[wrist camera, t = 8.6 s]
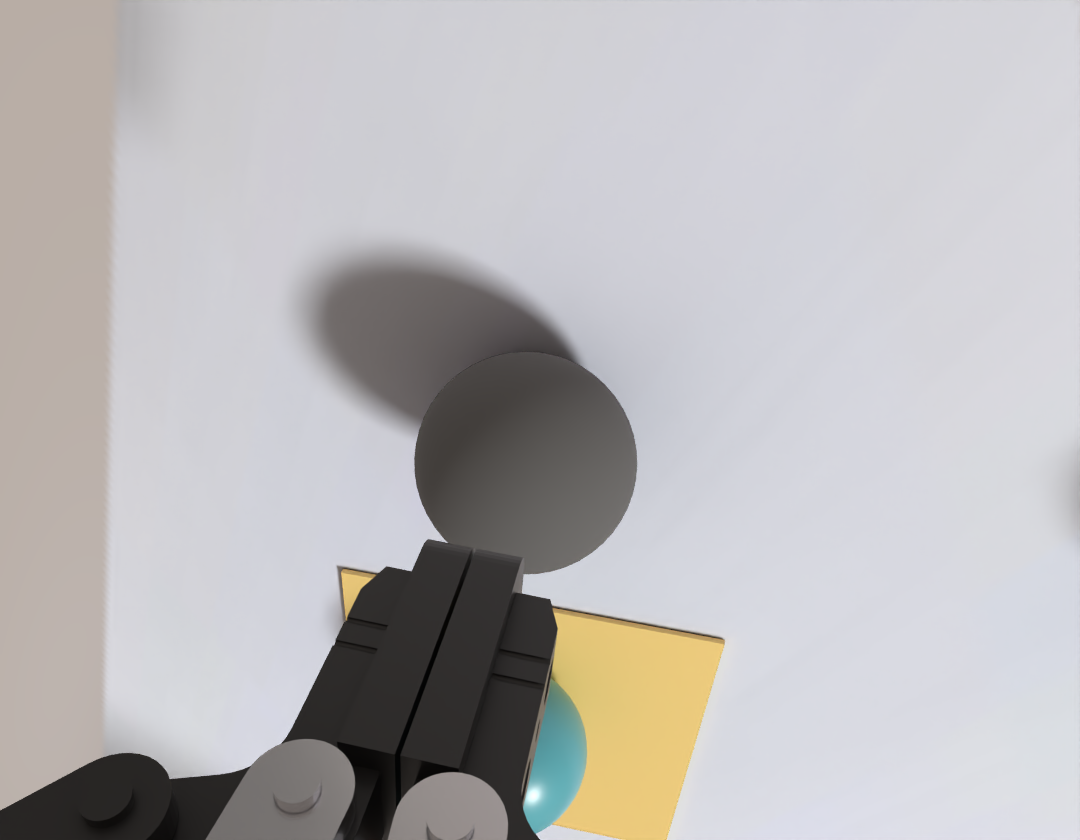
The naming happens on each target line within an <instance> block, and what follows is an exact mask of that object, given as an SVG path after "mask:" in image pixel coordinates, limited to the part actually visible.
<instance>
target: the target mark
mask: <svg viewBox="0 0 1080 840" xmlns="http://www.w3.org/2000/svg"><path fill="white" fill-rule="evenodd" d="M341 576H342V586H343V596H344V606H345V616H346V620H347V616H348V614H349V612H350V610H351V608H352V606H353V604H354V602H355V600H356V598H357V596H358V594H359V592H360V590H361V588H362V587H363V586H364V585H366V584H367V583H368V582H369V581H370V580H371V579H373V578H374V577H375V576H376V575H374V574H369V573H364V572H358V571H353V570H348V569H343V570H342V572H341ZM553 612H554V616H555V620H556V624H557V627H558V632H557V639H556V646H555V653H554V660H553V667H552V675H551V679H552V680H554V681H555V682H556V683H557V684H559V685H560V686H561V687H562V688H563V689H564V690H565V692H566V693H567V694H568V695H569V696H570V698H571V700H572V701H573V703H574V704H575V706H576V708H577V710H578V712H579V714H580V716H581V719H582V722H583V725H584V728H585V733H586V740H587V764H586V769H585V773H584V777H583V780H582V783H581V786H580V789H579V791H578V793H577V795H576V797H575V799H574V800H573V801H572V803H571V804H570V806H569V807H568V809H567V810H566V811H565V812H564V813H563V814H562V815H561V816H560V818H559V819H557V820H556V821H555V822H554V823H553V824H552V825H557V826H561V827H566V828H571V829H575V830H580V831H585V832H589V833H594V834H599V835H603V836H608V837H613V838H618V839H622V840H666V839H667V836H668V833H669V829H670V826H671V823H672V819H673V816H674V813H675V809H676V806H677V802H678V799H679V796H680V792H681V789H682V786H683V782H684V779H685V776H686V772H687V769H688V765H689V762H690V759H691V755H692V752H693V749H694V745H695V742H696V739H697V735H698V732H699V728H700V725H701V722H702V718H703V715H704V712H705V708H706V705H707V702H708V698H709V695H710V691H711V688H712V685H713V681H714V678H715V675H716V671H717V668H718V665H719V661H720V658H721V654H722V651H723V648H724V643H725V640H722V639H717V638H711V637H706V636H701V635H695V634H690V633H685V632H679V631H674V630H669V629H663V628H658V627H653V626H647V625H642V624H636V623H631V622H626V621H620V620H615V619H610V618H604V617H599V616H594V615H588V614H583V613H578V612H572V611H567V610H562V609H556V608H553Z"/></svg>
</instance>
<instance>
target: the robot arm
mask: <svg viewBox="0 0 1080 840" xmlns="http://www.w3.org/2000/svg"><path fill="white" fill-rule="evenodd" d="M523 573H524V558H521V557H516V556H511V555H506V554H501V553H496V552H491V551H486V550H481V549H477V550H476V551H475V549H474V548H470V547H465V546H460V545H455V544H450V543H445V542H440V541H435V540H430V539H428V540H427V541H426V542H425V543H424V545H423V547H422V549H421V552H420V554H419V556H418V558H417V561H416V563H415V565H414V567H413V570H412V571H407V570H402V569H397V568H392V567H387V566H386V567H385V568H384V569H383V570H382V571H381V572H380V573H378V574H377V575H376V576H375V577H374V578H373V579H371V580H370V581H369V582H368V583H367V584H366V585H364V586H363V587H362V588H361V590H360V592H359V594H358V596H357V598H356V600H355V602H354V604H353V606H352V608H351V610H350V612H349V614H348V616H347V620H346V622H344V624H343V626H342V628H341V630H340V632H339V634H338V636H337V638H336V642H335V645H334V646H332V648H331V650H330V652H329V654H328V656H327V658H326V660H325V662H324V664H323V666H322V668H321V670H320V672H319V674H318V676H317V678H316V681H315V683H314V685H313V687H312V689H311V691H310V693H309V695H308V697H307V699H306V701H305V703H304V705H303V707H302V709H301V711H300V713H299V715H298V717H297V719H296V721H295V723H294V725H293V727H292V729H291V731H290V732H289V734H288V736H287V737H286V738H285V740H284V741H283V742H282V743H281V744H280V745H278V746H275V747H274V748H272V749H270V750H268V751H267V752H266V753H264V754H263V755H262V756H260V757H259V758H258V759H257V760H256V761H255V762H254V763H253V764H252V766H250V767H247V768H245V769H243V770H239V771H236V772H232V773H227V774H221V775H211V776H200V777H189V778H178V779H169V776H168V774H167V772H166V770H165V769H164V768H163V766H162V765H160V764H159V763H158V762H157V761H156V760H154V759H152V758H150V757H148V756H144V755H141V754H134V753H120V754H115V755H109V756H106V757H103V758H100V759H98V760H95V761H93V762H91V763H89V764H87V765H85V766H83V767H81V768H79V769H77V770H76V771H74V772H72V773H70V774H68V775H66V776H64V777H62V778H61V779H59V780H57V781H55V782H53V783H51V784H49V785H47V786H45V787H44V788H42V789H40V790H38V791H36V792H34V793H32V794H31V795H29V796H27V797H25V798H23V799H21V800H19V801H17V802H15V803H14V804H12V805H10V806H8V807H6V808H4V809H2V810H0V840H540V839H539V838H538V837H537V835H536V834H535V833H534V831H533V830H532V828H531V827H530V825H529V823H528V821H527V818H526V816H525V813H524V810H523V806H524V802H525V797H526V793H527V788H528V784H529V780H530V775H531V771H532V766H533V762H534V757H535V752H536V748H537V744H538V739H539V735H540V730H541V725H542V721H543V717H544V713H545V708H546V704H547V699H548V695H549V689H550V682H551V675H552V667H553V660H554V653H555V646H556V639H557V632H558V627H557V624H556V620H555V616H554V612H553V608H552V604H551V601H550V599H546V598H541V597H536V596H531V595H526V594H522V584H523Z"/></svg>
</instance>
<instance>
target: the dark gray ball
mask: <svg viewBox="0 0 1080 840" xmlns="http://www.w3.org/2000/svg"><path fill="white" fill-rule="evenodd" d="M414 460H415V477H416V484H417V489H418V492H419V496H420V499H421V502H422V504H423V506H424V509H425V511H426V513H427V515H428V517H429V518H430V520H431V522H432V523H433V525H434V527H435V528H436V529H437V531H438V532H439V533H440V534H441V536H442V537H443V538H444V539H445V540H446V541H447V542H448V543H450V544H455V545H460V546H465V547H470V548H474V549H475V551H476V550H477V549H481V550H486V551H491V552H496V553H501V554H506V555H511V556H516V557H521V558H524V573H523V574H539V573H545V572H551V571H554V570H558V569H561V568H564V567H567V566H569V565H571V564H573V563H575V562H578V561H580V560H581V559H583V558H584V557H586V556H587V555H589V554H591V553H592V552H593V551H594V550H596V549H597V548H598V547H599V546H600V545H602V544H603V543H604V542H605V540H606V539H607V538H608V537H609V536H610V535H611V534H612V533H613V531H614V530H615V529H616V527H617V526H618V524H619V523H620V521H621V520H622V518H623V516H624V514H625V512H626V510H627V508H628V506H629V503H630V500H631V497H632V494H633V490H634V486H635V481H636V472H637V453H636V445H635V440H634V435H633V432H632V429H631V426H630V423H629V420H628V418H627V416H626V414H625V412H624V410H623V408H622V407H621V405H620V403H619V402H618V400H617V399H616V397H615V396H614V395H613V394H612V392H611V391H610V390H609V389H608V388H607V387H606V385H605V384H604V383H603V382H601V381H600V380H599V379H598V378H597V377H596V376H595V375H593V374H592V373H591V372H589V371H588V370H586V369H585V368H583V367H582V366H580V365H578V364H576V363H574V362H572V361H570V360H567V359H564V358H561V357H558V356H555V355H550V354H545V353H539V352H513V353H507V354H501V355H497V356H494V357H491V358H488V359H485V360H482V361H480V362H478V363H476V364H474V365H472V366H470V367H469V368H467V369H466V370H464V371H462V372H461V373H459V374H458V375H457V376H456V377H455V378H453V379H452V380H451V381H450V382H449V383H448V384H447V385H446V386H445V387H444V388H443V389H442V390H441V391H440V393H439V394H438V395H437V397H436V398H435V399H434V401H433V402H432V404H431V405H430V407H429V409H428V411H427V413H426V415H425V417H424V419H423V422H422V424H421V427H420V430H419V434H418V438H417V442H416V449H415V458H414Z"/></svg>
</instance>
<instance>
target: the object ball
mask: <svg viewBox="0 0 1080 840" xmlns="http://www.w3.org/2000/svg"><path fill="white" fill-rule="evenodd" d="M586 764H587V740H586V733H585V728H584V725H583V722H582V719H581V716H580V714H579V712H578V710H577V708H576V706H575V704H574V703H573V701H572V700H571V698H570V696H569V695H568V694H567V693H566V692H565V690H564V689H563V688H562V687H561V686H560V685H559V684H557V683H556V682H555V681H554V680H552V679H551V682H550V689H549V695H548V699H547V704H546V708H545V713H544V717H543V721H542V725H541V730H540V735H539V739H538V744H537V748H536V752H535V757H534V762H533V766H532V771H531V775H530V780H529V784H528V788H527V793H526V797H525V802H524V806H523V810H524V813H525V816H526V818H527V821H528V823H529V825H530V827H531V828H532V830H533V831H534V833H535V834H536V833H538V832H540V831H542V830H544V829H545V828H547V827H548V826H550V825H551V824H553V823H554V822H555V821H556V820H557V819H559V818H560V816H561V815H562V814H563V813H564V812H565V811H566V810H567V809H568V807H569V806H570V804H571V803H572V801H573V800H574V799H575V797H576V795H577V793H578V791H579V789H580V786H581V783H582V780H583V777H584V773H585V769H586Z"/></svg>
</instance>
